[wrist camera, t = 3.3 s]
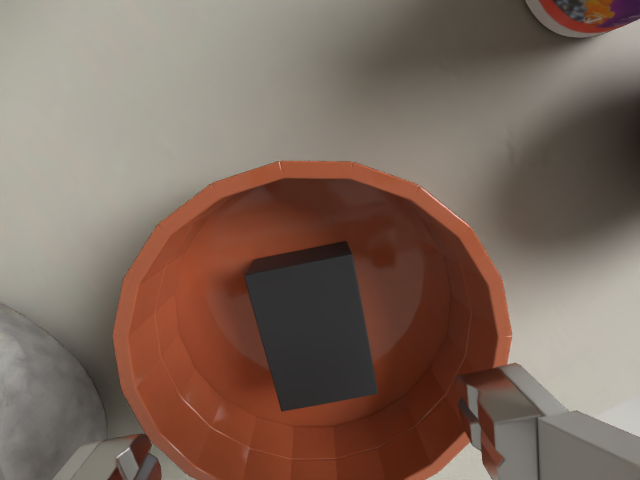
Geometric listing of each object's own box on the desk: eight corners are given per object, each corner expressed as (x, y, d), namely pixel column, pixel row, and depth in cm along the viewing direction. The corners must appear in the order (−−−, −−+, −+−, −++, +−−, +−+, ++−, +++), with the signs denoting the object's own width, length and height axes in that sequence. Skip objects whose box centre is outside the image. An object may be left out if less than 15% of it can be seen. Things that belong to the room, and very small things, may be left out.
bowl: (209, 116, 12) (159, 93, 8) (505, 219, 13) (584, 242, 9) (145, 387, 15) (85, 466, 11) (393, 451, 16) (418, 543, 12)
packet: (253, 258, 13) (243, 275, 11) (346, 240, 13) (352, 253, 11) (285, 379, 14) (281, 412, 12) (370, 363, 14) (378, 394, 12)
